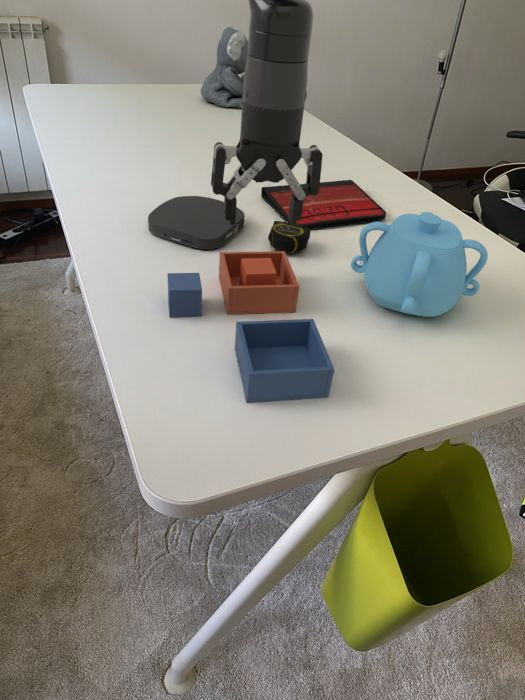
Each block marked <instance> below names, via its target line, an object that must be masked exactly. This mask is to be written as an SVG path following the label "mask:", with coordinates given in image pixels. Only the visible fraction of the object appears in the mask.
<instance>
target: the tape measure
mask: <svg viewBox="0 0 525 700" xmlns="http://www.w3.org/2000/svg"><path fill="white" fill-rule="evenodd" d="M310 238H311V230H310V229H309V228H308V227H306V226H303V225H298V224H296V225H291V224H290V223H288V222H287V221H280V220H274V221H273V223H272V226H271V227H270V231H269V233H268V236H267V240H268V242H269V244H270V246H271V247H272V248H273V249H274V250H275V251H285V253H286V254H297V253H301V252H303V251H304V250H306V249H307V247H308V244H309V240H310Z"/></svg>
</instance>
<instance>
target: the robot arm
mask: <svg viewBox="0 0 525 700" xmlns="http://www.w3.org/2000/svg"><path fill="white" fill-rule="evenodd" d="M248 6H249V12H250V16H249V27H248V38H247V40H248V54H247V62H246V67H245V72H244V73H243V75H244V84H243V99H242V108H241V119H240V134H239V141H238V143H237V145H236V146H233V145H224V144H223V142H221V141H218V142H215V143H214V147H213V156H212V157H213V158H212V166H211V167H212V168H211V176H210V177H211V178H210V185H211V188H212V193H213V194H214V195H216V196H218V195H220V196H223V197H224V200H223V202H224V215H225V218H226V221H229V223H230V225H235V221H236V207H237V204H238V200H237V195H238V194H239V193H240V192H241V191H242V190H243V189H245V188H246V187H247V186H248V185H249V184H250V183H251V181H255V183H265V182H270V183H274V184H275V183H276V184H277V183H280V182H281V181H283V180H285V182H286V184H287V185H289V186H290V188H291V189H292V191H293V194H291V198H290V206H289V214H288V220H289V222H290V224H291V225H296V222H297V221H299V220H300V219H301V216H302V209H303V202H304V199H305V198H306V197H307V196H310V195H313V196H315V195H317V194H318V193H319V187H320V182H321V177H322V165H323V164H322V163H323V152H322V151H321V149H320V148H319V147H318V146H317V145H316V144H312V145H310V146H309V147H305V148H304V147H302V148H301V146H300V142H301V134H302V127H303V118H304V110H305V103H306V100H307V95H308V92H307V87H308V64H309V54H310V47H311V45H310V44H311V39H312V32H313V23H314V10H313V7H312V5H311V3H310V2H309V1H307V0H248ZM234 157H236V158H237V160H238V162H239V163H240V165H239V166H238V167H237V168H236V169H235V171H234V172H233V175H232V176H231V178H229V180H228V181H227V182H224V178H225V170H226V169H225V168H226V167H225V166H226V165H228V164H230V163H231V161H232V159H233V158H234ZM301 159H303V162H304V164H305V165H306V166H307V167H306V168H307V169H306V182H305V183H300V182H299V181H298V179H297V177H296V176H295V174H294V172H293V169H294V168H295V167H296V165H297V164H298V163H299V162H300V161H301ZM300 184H302V185H300Z"/></svg>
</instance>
